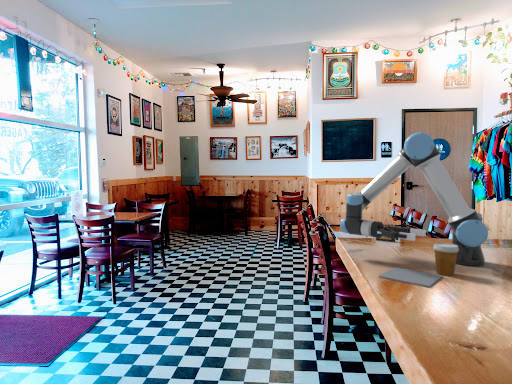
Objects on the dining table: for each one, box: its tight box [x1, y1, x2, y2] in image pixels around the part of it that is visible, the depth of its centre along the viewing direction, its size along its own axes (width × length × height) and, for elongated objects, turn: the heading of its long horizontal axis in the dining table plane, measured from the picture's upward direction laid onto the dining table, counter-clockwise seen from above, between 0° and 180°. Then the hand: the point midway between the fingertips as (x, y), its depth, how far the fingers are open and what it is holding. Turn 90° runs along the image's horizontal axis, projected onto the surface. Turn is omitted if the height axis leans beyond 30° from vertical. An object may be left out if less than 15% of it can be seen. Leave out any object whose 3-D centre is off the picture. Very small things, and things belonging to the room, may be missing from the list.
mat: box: [378, 266, 443, 288], centre depth 148 cm, size 17×19×1 cm
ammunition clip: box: [375, 220, 396, 243], centre depth 220 cm, size 11×2×12 cm, turn 62°
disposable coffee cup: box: [432, 242, 459, 277], centre depth 153 cm, size 10×10×12 cm
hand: (420, 235), depth 158 cm, fingers open, 13 cm apart
